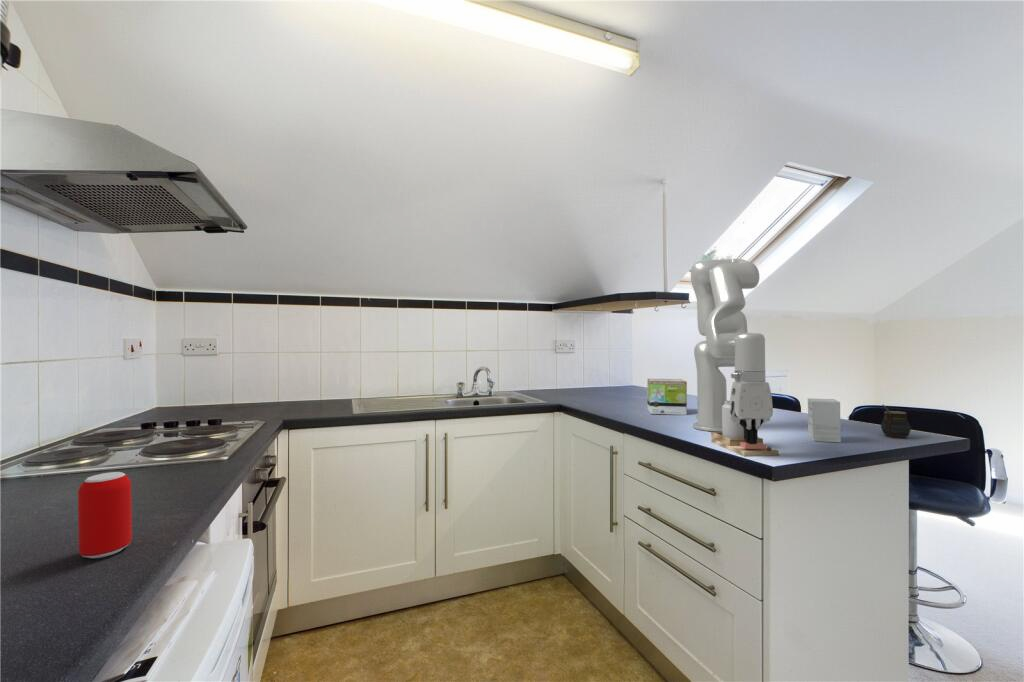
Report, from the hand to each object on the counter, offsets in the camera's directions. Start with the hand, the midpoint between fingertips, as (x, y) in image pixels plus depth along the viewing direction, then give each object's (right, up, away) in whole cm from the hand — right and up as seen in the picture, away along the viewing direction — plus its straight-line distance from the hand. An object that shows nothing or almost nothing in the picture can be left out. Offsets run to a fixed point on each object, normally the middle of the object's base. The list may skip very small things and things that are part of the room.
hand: (750, 442), depth 122 cm
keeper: (+1, -1, 0) cm, 2 cm away
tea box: (+1, -3, +68) cm, 69 cm away
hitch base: (+1, -3, +6) cm, 7 cm away
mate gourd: (+56, -3, +18) cm, 59 cm away
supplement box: (+32, -3, +15) cm, 35 cm away
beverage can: (-131, -5, -53) cm, 141 cm away
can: (+1, -2, +10) cm, 10 cm away
